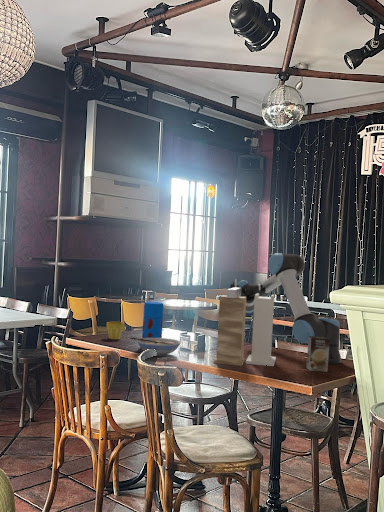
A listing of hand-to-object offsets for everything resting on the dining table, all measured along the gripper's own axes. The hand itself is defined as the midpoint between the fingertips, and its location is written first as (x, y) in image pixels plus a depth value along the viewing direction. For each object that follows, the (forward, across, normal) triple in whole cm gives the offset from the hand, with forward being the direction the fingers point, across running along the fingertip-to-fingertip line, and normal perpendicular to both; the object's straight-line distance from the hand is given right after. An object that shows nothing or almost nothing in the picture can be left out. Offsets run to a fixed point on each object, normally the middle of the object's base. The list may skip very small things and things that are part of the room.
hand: (247, 281), depth 317 cm
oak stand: (+10, +3, -51) cm, 52 cm away
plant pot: (-30, +78, -32) cm, 89 cm away
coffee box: (+11, -40, -50) cm, 65 cm away
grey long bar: (+23, +4, -20) cm, 31 cm away
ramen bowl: (+8, +41, -51) cm, 65 cm away
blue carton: (-12, +50, -41) cm, 65 cm away
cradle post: (+2, -12, -46) cm, 48 cm away
